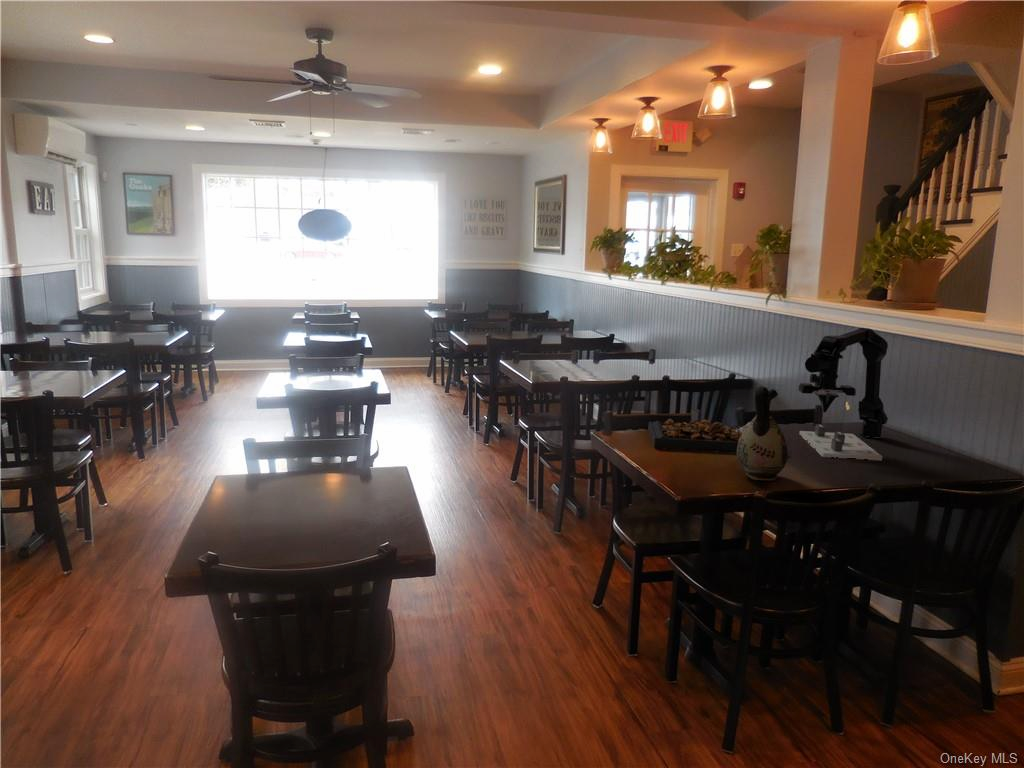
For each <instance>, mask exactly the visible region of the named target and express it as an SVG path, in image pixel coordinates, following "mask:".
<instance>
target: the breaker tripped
mask: <svg viewBox="0 0 1024 768" xmlns="http://www.w3.org/2000/svg"><path fill="white" fill-rule="evenodd" d="M833 433H834V438H835V439H840V440H841V441H843V444H844V441H845V434H846V433H845V434H843V432H842V431H834V432H833Z"/></svg>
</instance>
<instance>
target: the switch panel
mask: <svg viewBox="0 0 1024 768" xmlns="http://www.w3.org/2000/svg"><path fill="white" fill-rule="evenodd" d="M834 433H835V432H828V431H827V432H826V431H825V436H817V435H816V434H815V431H809V430H808V431H806V430H799V435H801V436H802V437H801V436H800V437H801V438H802V439H804V441H806V440H807V441H808V442H807V441H806V442H807V443H808V444H809V443H810V444H809V446H811V447H812V448H813V449H814V448H815V449H816V450H815V449H814V450H815V451H816V452H817V453H818V454H819V455H820V456H821V457H822V458H831V457H834V458H835V459H847V458H856V459H855V460H864V459H868V460H867V461H882V460H883V456H882V455H881V454H880V453H879V452H877V450H875V449H873V448H872V447H870V446H869V445H868V444H867V443H865V442H864V441H863V440H861V439H860V438H859V437H858V436H856V435H855V434H854V433H845V432H844V433H843V432H842V433H843V434H845V441H844V444H843V446H842V451H834V450H833V449H832V448H831V443H832V438H834ZM836 457H838V458H836ZM834 458H833V459H834ZM882 462H883V461H882Z"/></svg>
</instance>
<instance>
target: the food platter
mask: <svg viewBox="0 0 1024 768" xmlns="http://www.w3.org/2000/svg"><path fill="white" fill-rule="evenodd" d="M750 422H751V421H749V422H747V424H745V425H743V426H741V425H726V424H725V425H723V424H722V423H721V422H718V421H715V422H713V423H711V422H710V420H707V419H705V418H704V419H701V420H700V421H699V420H698V419H695V420H693V421H690V422H689V423H687V422H684V421H683V422H675V421H674V420H673V419H672V418H668V419H667V420H665V421H664V422H663V421H660V420H656V421H648V426H647V427H648V428H647V432H648V431H649V432H648V434H649V437H651V438H650V440H652V441H651V443H653V444H652V446H654V447H653V449H654V448H666V449H665V450H670V449H682V450H681V451H688V450H698V451H697V452H706V451H719V452H718V453H724V452H737V447H738V442H739V439H740V437H741V435H742V433H743V431H744V430H745V429H746V427H747V426H748V425H749V423H750Z"/></svg>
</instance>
